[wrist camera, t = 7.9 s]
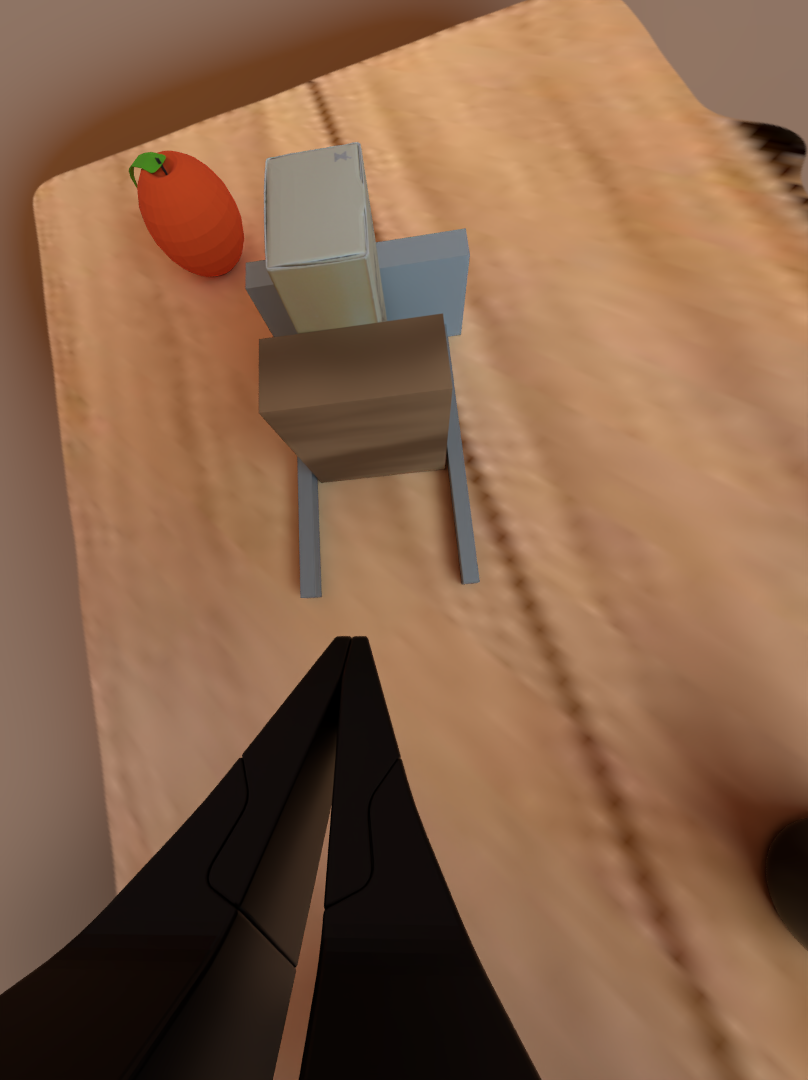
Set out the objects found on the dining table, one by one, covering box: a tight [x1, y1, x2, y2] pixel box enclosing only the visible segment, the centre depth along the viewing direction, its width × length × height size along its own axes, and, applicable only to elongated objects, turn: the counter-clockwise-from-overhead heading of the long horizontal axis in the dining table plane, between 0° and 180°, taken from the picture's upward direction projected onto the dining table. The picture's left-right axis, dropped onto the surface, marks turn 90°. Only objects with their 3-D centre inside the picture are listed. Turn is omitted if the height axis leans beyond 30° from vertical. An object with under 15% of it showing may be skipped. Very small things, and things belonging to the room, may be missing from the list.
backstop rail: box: [245, 229, 480, 598], centre depth 22 cm, size 21×14×6 cm, turn 5°
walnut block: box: [259, 313, 453, 483], centre depth 20 cm, size 4×9×9 cm, turn 95°
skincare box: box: [264, 142, 387, 334], centre depth 19 cm, size 6×4×12 cm
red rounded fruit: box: [129, 151, 244, 277], centre depth 26 cm, size 8×7×7 cm
